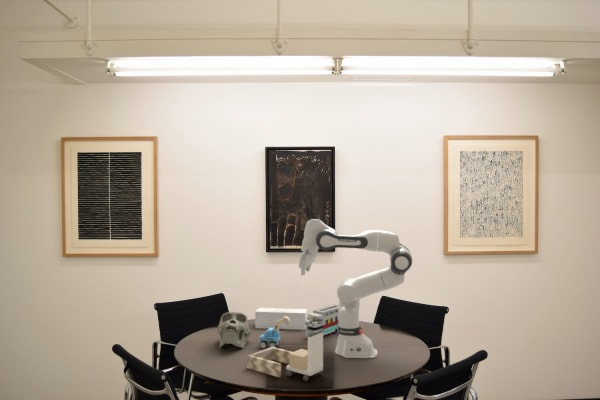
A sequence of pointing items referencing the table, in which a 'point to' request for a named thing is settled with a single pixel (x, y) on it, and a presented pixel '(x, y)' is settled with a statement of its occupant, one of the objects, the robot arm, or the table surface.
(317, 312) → the toy vehicle
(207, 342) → the table surface
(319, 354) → the trolley
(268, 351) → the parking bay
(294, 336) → the table surface
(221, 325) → the skull
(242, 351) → the table surface
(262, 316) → the long white block
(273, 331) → the toy excavator
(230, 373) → the table surface
